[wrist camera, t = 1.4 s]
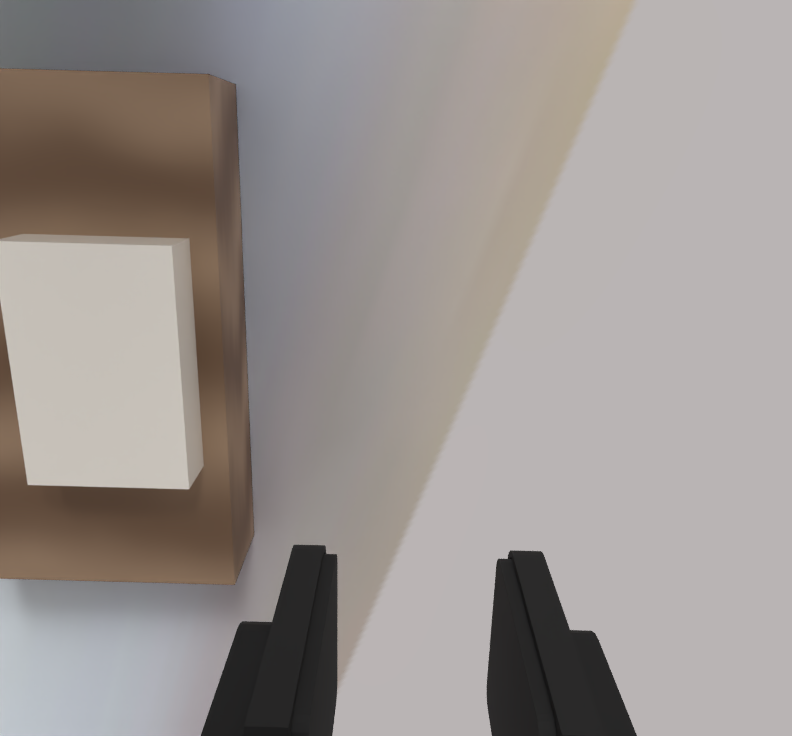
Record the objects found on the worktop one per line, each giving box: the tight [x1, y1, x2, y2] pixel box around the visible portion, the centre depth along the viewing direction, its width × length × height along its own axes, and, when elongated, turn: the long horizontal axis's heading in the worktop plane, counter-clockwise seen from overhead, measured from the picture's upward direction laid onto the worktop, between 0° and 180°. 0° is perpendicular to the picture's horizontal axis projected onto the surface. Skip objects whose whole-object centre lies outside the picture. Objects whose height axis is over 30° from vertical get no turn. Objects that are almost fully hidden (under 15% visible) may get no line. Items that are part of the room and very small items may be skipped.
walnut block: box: [0, 68, 254, 585], centre depth 28 cm, size 20×12×4 cm, turn 178°
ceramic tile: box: [0, 234, 204, 489], centre depth 25 cm, size 9×6×2 cm, turn 178°
